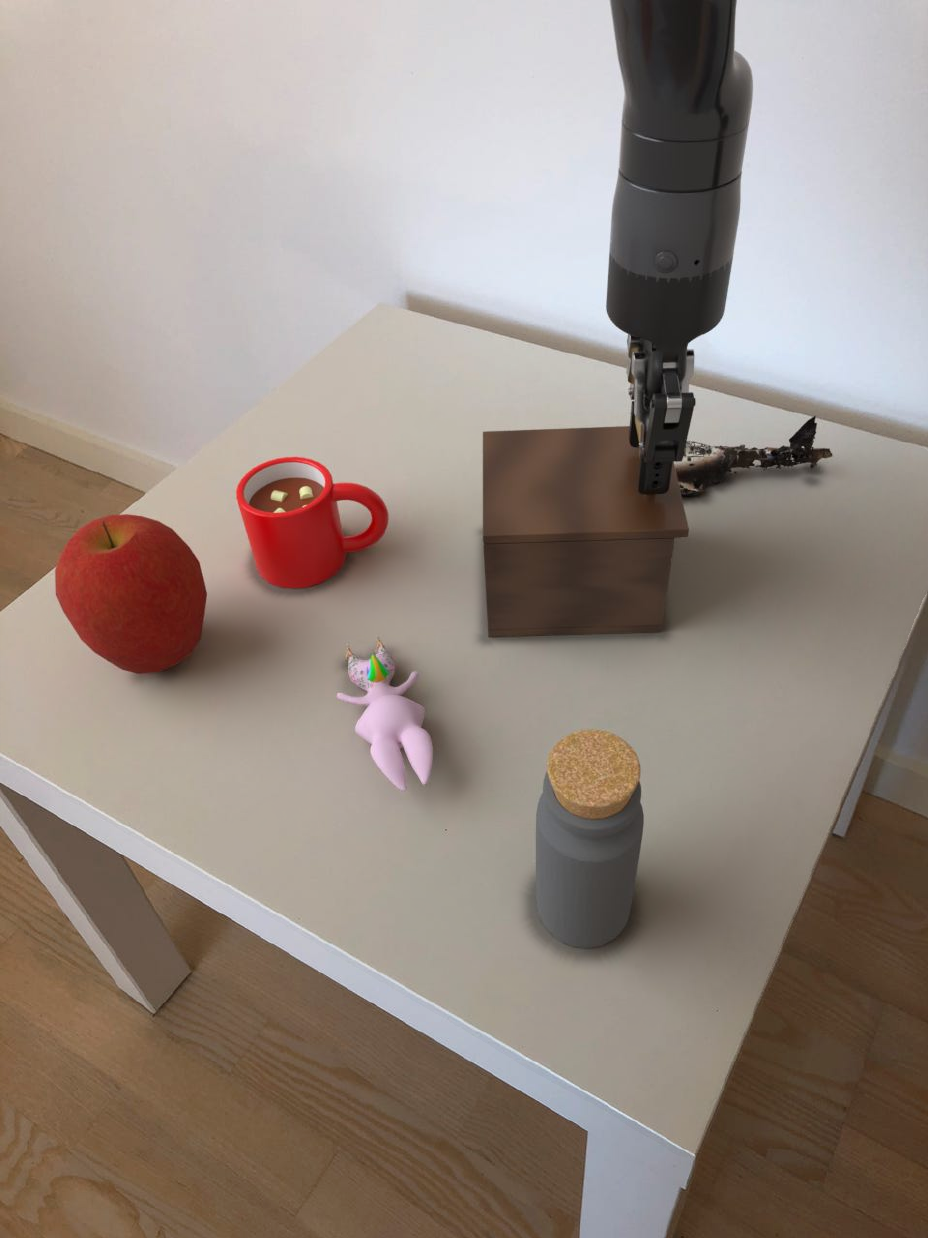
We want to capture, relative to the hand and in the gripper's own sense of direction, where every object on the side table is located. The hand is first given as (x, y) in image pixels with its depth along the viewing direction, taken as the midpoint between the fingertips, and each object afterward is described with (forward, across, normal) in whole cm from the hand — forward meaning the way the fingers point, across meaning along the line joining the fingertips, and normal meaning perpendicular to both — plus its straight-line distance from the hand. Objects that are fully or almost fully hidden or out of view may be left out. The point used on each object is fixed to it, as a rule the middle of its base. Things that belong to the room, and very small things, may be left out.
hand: (647, 465), depth 70 cm
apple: (+12, -7, +38) cm, 41 cm away
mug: (+12, +4, +26) cm, 29 cm away
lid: (+2, 0, +5) cm, 5 cm away
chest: (+11, 0, +6) cm, 13 cm away
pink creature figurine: (+12, -15, +20) cm, 27 cm away
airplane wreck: (+12, +12, -9) cm, 19 cm away
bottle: (+12, -29, +6) cm, 32 cm away
